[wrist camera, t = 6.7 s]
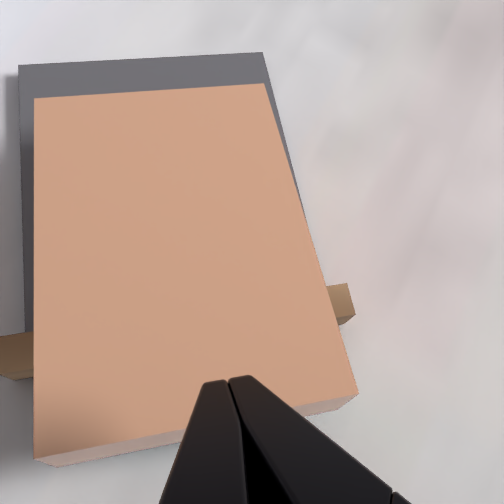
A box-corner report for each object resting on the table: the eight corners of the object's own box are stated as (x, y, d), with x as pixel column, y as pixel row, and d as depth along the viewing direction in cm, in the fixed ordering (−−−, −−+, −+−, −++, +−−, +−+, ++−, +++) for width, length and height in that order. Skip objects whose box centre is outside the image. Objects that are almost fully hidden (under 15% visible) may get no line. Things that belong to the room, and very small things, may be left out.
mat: (321, 297, 16) (324, 292, 15) (30, 343, 14) (25, 339, 14) (260, 61, 19) (262, 52, 19) (22, 74, 18) (18, 65, 17)
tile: (359, 393, 11) (263, 83, 15) (33, 459, 10) (33, 98, 14) (334, 412, 13) (256, 131, 17) (59, 468, 12) (53, 148, 16)
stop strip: (343, 323, 16) (355, 314, 14) (13, 380, 14) (-2, 373, 12) (335, 294, 16) (347, 283, 15) (13, 345, 14) (-2, 336, 13)
